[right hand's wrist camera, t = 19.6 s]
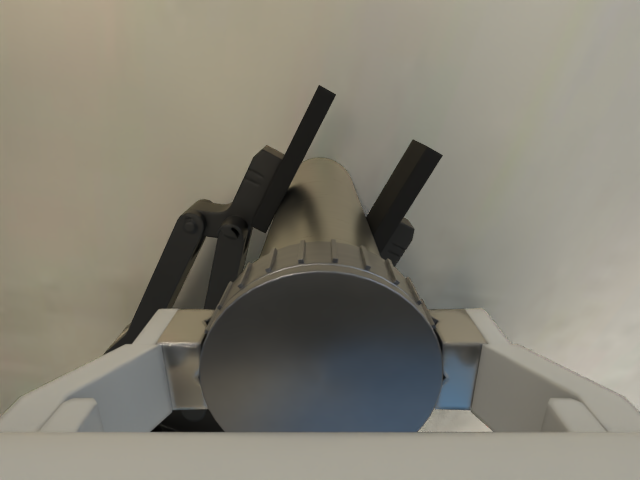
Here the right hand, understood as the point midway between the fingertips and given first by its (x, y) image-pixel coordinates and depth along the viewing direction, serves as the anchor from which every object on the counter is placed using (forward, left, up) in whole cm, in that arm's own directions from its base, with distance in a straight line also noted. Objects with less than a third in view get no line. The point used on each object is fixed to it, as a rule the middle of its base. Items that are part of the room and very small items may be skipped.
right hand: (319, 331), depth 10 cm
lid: (0, 0, +2) cm, 2 cm away
